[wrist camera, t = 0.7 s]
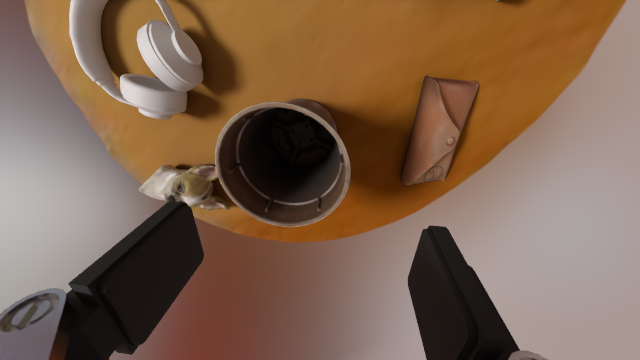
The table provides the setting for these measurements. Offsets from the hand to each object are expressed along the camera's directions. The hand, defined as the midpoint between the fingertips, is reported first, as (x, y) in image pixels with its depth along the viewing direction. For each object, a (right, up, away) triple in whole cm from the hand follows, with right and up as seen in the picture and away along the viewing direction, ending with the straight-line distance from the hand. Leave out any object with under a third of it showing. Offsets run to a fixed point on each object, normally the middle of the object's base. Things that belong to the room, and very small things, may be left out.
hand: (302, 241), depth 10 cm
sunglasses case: (+20, +11, +31) cm, 38 cm away
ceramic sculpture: (-25, +3, +40) cm, 47 cm away
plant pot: (-2, +11, +33) cm, 34 cm away
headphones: (-27, +24, +29) cm, 46 cm away
